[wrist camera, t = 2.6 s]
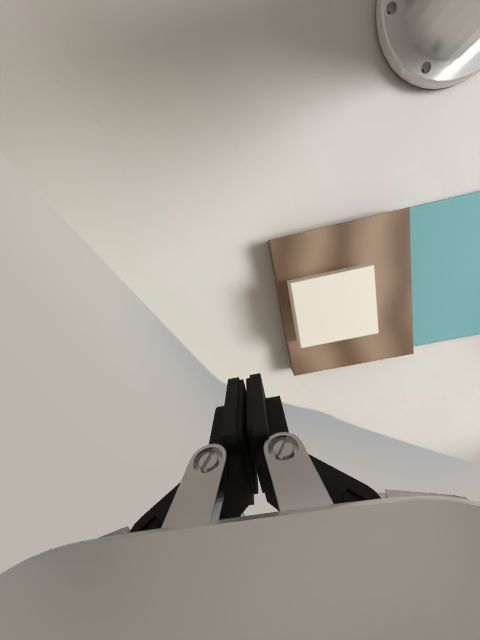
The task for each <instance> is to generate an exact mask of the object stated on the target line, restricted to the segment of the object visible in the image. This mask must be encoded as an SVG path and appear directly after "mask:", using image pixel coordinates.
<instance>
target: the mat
mask: <svg viewBox="0 0 480 640" xmlns="http://www.w3.org/2000/svg"><path fill="white" fill-rule="evenodd" d="M410 239H411V277H412V315H413V347H414V346H419V345H424V344H430V343H435V342H440V341H446V340H451V339H456V338H462V337H467V336H472V335H478V334H480V191H479V192H475V193H471V194H467V195H462V196H458V197H454V198H450V199H445V200H441V201H437V202H433V203H428V204H424V205H420V206H416V207H411V208H410Z"/></svg>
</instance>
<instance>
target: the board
mask: <svg viewBox="0 0 480 640" xmlns="http://www.w3.org/2000/svg"><path fill="white" fill-rule="evenodd" d="M268 243H269V249H270V254H271V260H272V265H273V271H274V276H275V282H276V287H277V293H278V298H279V304H280V310H281V315H282V321H283V326H284V332H285V337H286V343H287V348H288V354H289V359H290V365H291V369H292V371H293V374H294V376H295V375H301V374H306V373H311V372H317V371H322V370H328V369H333V368H338V367H344V366H349V365H355V364H360V363H365V362H371V361H376V360H382V359H387V358H392V357H398V356H403V355H409V354H413V315H412V277H411V239H410V207H409V208H405V209H400V210H396V211H392V212H388V213H383V214H379V215H375V216H371V217H366V218H362V219H358V220H354V221H349V222H345V223H341V224H337V225H332V226H328V227H324V228H320V229H315V230H311V231H307V232H303V233H298V234H294V235H290V236H286V237H281V238H277V239H273V240H269V241H268ZM361 264H364V265H374V272H375V287H376V301H377V316H378V331H379V333H376V334H371V335H366V336H361V337H356V338H351V339H346V340H341V341H335V342H330V343H325V344H320V345H315V346H310V347H305V348H301V346H300V345H299V343H298V341H297V339H296V333H295V327H294V321H293V315H292V309H291V303H290V297H289V292H288V286H287V281H288V280H293V279H297V278H302V277H306V276H311V275H315V274H320V273H325V272H329V271H334V270H338V269H343V268H347V267H352V266H356V265H361Z"/></svg>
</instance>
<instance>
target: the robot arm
mask: <svg viewBox="0 0 480 640" xmlns="http://www.w3.org/2000/svg"><path fill="white" fill-rule="evenodd" d="M376 23H377V31H378V37H379V42H380V45H381V48H382V51H383V53H384V56H385V58H386V60H387V61H388V63H389V64H390V66H391V68H392V69H393V70H394V71H395V72H396V73H397V74H398V75H399V76H400V77H401V78H402V79H404V80H405V81H407V82H409V83H410V84H412V85H415V86H418V87H421V88H428V89H440V88H446V87H451V86H453V85H456V84H459V83H461V82H464V81H465V80H467V79H469V78H470V77H472V76H474V75H475V74H477V73H478V72H479V71H480V0H377V7H376ZM257 474H258V477H257ZM258 478H259V481H260V485H261V489H262V492H263V493H265V495H266V499H267V502H268V503H270V504H271V505H272V506H273V507H275V508H276V509H277V510H278V512H273V513H265V514H257V515H250V516H245V515H244V511H245V509H246V508H247V507H248V506H249V505H253V504H254V494H258ZM0 640H480V502H477V501H472V500H469V499H467V498H464V497H460V496H455V495H445V494H435V493H422V492H410V491H399V490H387V489H386V490H385V493H376V492H375V491H374V490H373V489H372V488H370V487H369V486H367V485H365V484H364V483H362V482H360V481H358V480H356V479H354V478H352V477H351V476H348V475H347V474H345V473H343V472H341V471H339V470H337V469H335V468H334V467H332V466H330V465H328V464H326V463H324V462H322V461H320V460H318V459H317V458H315V457H313V456H311V455H309V454H308V453H307V451H306V449H305V447H304V445H303V443H302V442H301V440H300V439H299V437H297V436H296V435H294V434H292V433H289V431H288V427H287V423H286V419H285V415H284V411H283V407H282V403H281V399H280V396H276V397H271V398H266V397H265V393H264V388H263V384H262V379H261V375H260V373H259V374H253V375H250V378H247V379H246V389H245V385H244V381H243V379H242V380H239V377H238V378H232V379H228V384H227V392H226V399H225V405H224V406H221V407H217V408H216V410H215V415H214V420H213V426H212V431H211V436H210V441H209V445H206V446H204V447H202V448H200V449H199V450H197V451H196V453H194V455H193V456H192V458H191V460H190V462H189V464H188V466H187V469H186V471H185V473H184V476H183V478H182V480H181V482H180V483H179V484H178V485H177V486H176V487H175V488H174V489H172V491H170V492H169V493H168V494H167V495H166V496H165V497H163V498H162V499H161V500H160V501H159V502H158V503H157V504H156V505H154V506H153V507H152V508H151V509H150V510H149V511H148V512H147V513H145V514H144V515H143V516H142V517H141V518H140V519H139V520H138V521H137V522H136V523H135V524H134V526H133V527H132V529H129V527H128V526H127V527H125V528H122V529H119V530H117V531H114V532H112V533H109V534H107V535H104V536H102V537H99V538H97V539H91V540H86V541H81V542H77V543H72V544H67V545H64V546H61V547H57V548H54V549H51V550H48V551H45V552H43V553H40V554H38V555H35V556H33V557H30V558H28V559H27V560H25V561H23V562H21V563H19V564H17V565H15V566H13V567H11V568H9V569H8V570H6V571H5V572H3V573H1V574H0Z"/></svg>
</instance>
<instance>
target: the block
mask: <svg viewBox="0 0 480 640" xmlns="http://www.w3.org/2000/svg"><path fill="white" fill-rule="evenodd" d="M287 286H288V292H289V297H290V303H291V309H292V315H293V321H294V327H295V333H296V339H297V341H298V343H299V345H300V346H301V348H305V347H310V346H315V345H320V344H325V343H330V342H335V341H341V340H346V339H351V338H356V337H361V336H366V335H371V334H376V333H379V331H378V316H377V301H376V287H375V272H374V265H364V264H361V265H356V266H352V267H347V268H343V269H338V270H334V271H329V272H325V273H320V274H315V275H311V276H306V277H302V278H297V279H293V280H288V281H287Z"/></svg>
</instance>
